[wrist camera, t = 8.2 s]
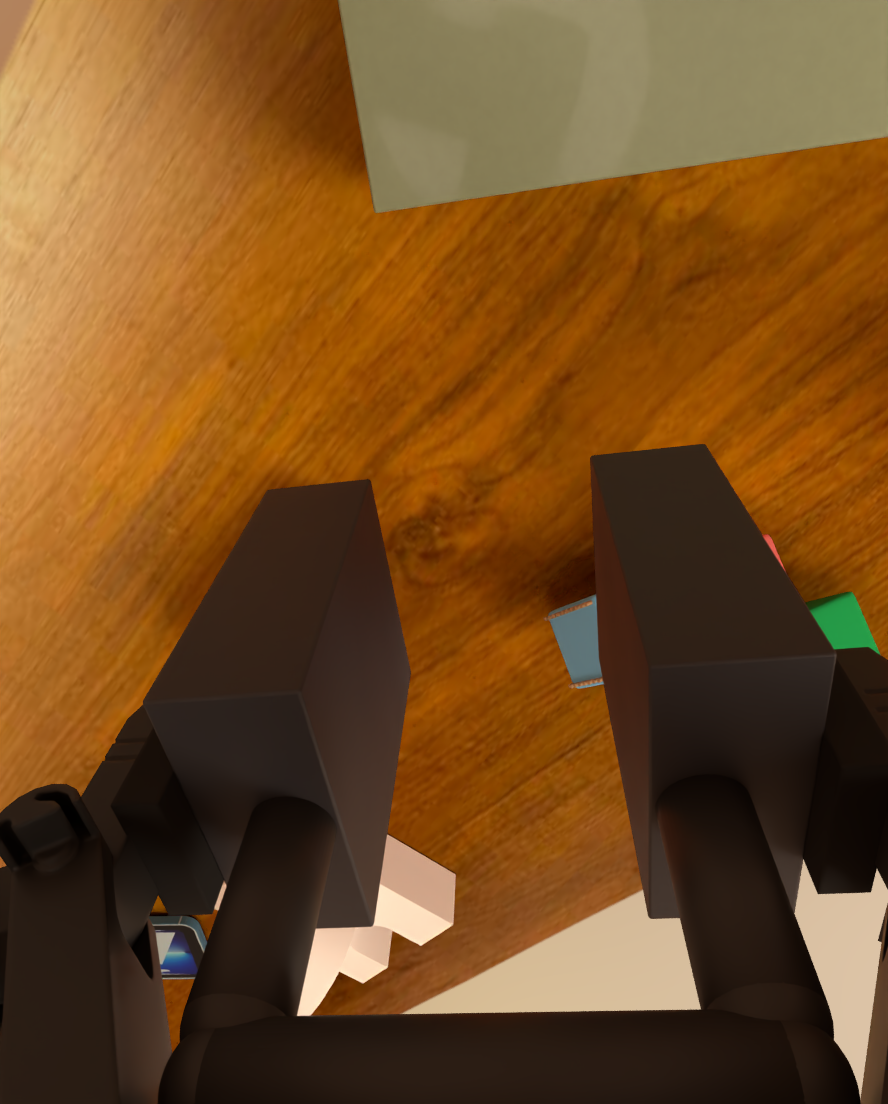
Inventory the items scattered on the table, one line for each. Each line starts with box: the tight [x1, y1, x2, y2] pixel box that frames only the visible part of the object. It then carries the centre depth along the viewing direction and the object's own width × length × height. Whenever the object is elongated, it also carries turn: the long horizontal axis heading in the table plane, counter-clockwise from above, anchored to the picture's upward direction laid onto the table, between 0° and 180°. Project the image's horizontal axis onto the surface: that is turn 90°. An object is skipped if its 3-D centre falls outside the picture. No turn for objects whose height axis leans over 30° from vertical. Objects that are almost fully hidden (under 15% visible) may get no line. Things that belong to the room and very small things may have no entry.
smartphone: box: [149, 916, 207, 979], centre depth 57 cm, size 7×1×15 cm
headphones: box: [143, 444, 861, 1104], centre depth 13 cm, size 6×10×11 cm, turn 98°
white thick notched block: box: [214, 834, 456, 1016], centre depth 46 cm, size 18×10×11 cm, turn 50°
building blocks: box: [544, 534, 880, 688], centre depth 35 cm, size 8×8×12 cm
